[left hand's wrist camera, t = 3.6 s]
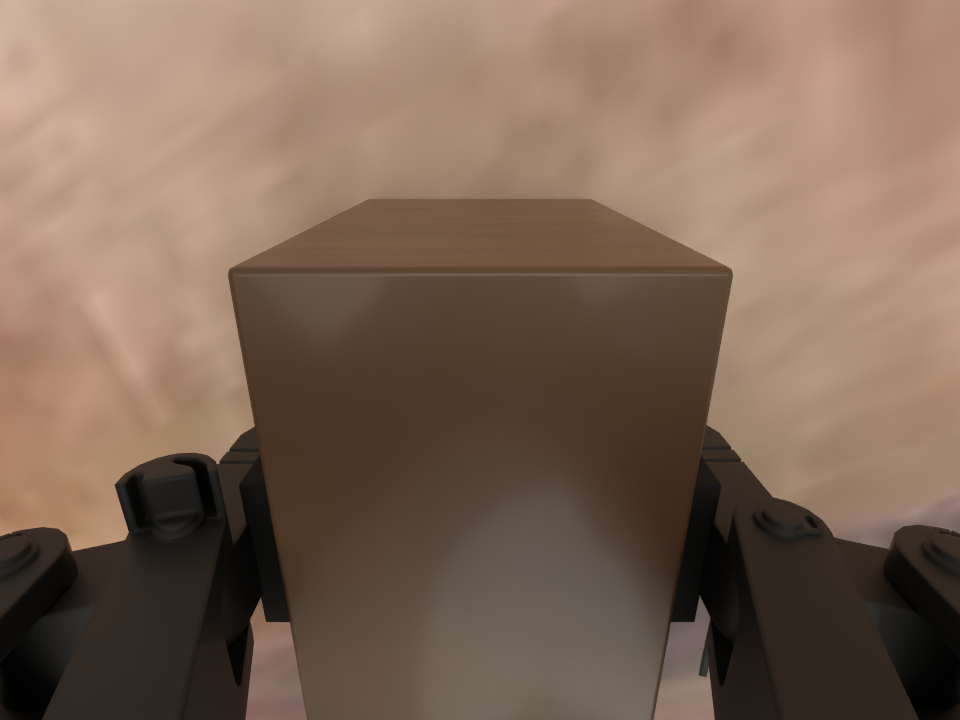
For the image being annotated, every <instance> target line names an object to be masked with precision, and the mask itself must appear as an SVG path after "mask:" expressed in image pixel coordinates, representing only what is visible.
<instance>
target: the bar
mask: <svg viewBox="0 0 960 720" xmlns="http://www.w3.org/2000/svg"><path fill="white" fill-rule="evenodd" d="M732 277H733V274H732V270H731V268H729V267H727V266H725V265H723V264H721V263H719V262H717V261H715V260H713V259H711V258H709V257H707V256H705V255H702V254H700V253H698V252H696V251H694V250H692V249H690V248H688V247H686V246H684V245H682V244H680V243H678V242H676V241H674V240H672V239H670V238H668V237H666V236H664V235H662V234H660V233H658V232H656V231H654V230H652V229H650V228H648V227H646V226H644V225H642V224H640V223H638V222H636V221H634V220H632V219H630V218H628V217H626V216H624V215H622V214H620V213H618V212H616V211H614V210H612V209H610V208H608V207H606V206H604V205H602V204H600V203H598V202H596V201H594V200H367V201H365V202H363V203H361V204H359V205H357V206H355V207H353V208H351V209H349V210H347V211H344V212H342V213H340V214H338V215H336V216H334V217H332V218H330V219H328V220H326V221H324V222H322V223H320V224H318V225H316V226H314V227H312V228H310V229H308V230H306V231H304V232H302V233H300V234H298V235H296V236H294V237H292V238H290V239H288V240H286V241H284V242H282V243H280V244H278V245H276V246H274V247H272V248H270V249H268V250H266V251H264V252H262V253H260V254H258V255H256V256H254V257H252V258H250V259H248V260H246V261H244V262H242V263H240V264H238V265H236V266H234V267H232V268H230V269H229V273H228V278H229V284H230V289H231V295H232V300H233V306H234V312H235V317H236V323H237V328H238V334H239V340H240V345H241V351H242V356H243V362H244V368H245V373H246V379H247V384H248V390H249V396H250V401H251V407H252V412H253V418H254V424H255V429H256V435H257V440H258V446H259V452H260V457H261V463H262V468H263V474H264V480H265V485H266V491H267V496H268V502H269V508H270V513H271V519H272V524H273V530H274V536H275V541H276V547H277V552H278V558H279V564H280V569H281V575H282V580H283V586H284V592H285V597H286V603H287V608H288V614H289V620H290V625H291V631H292V636H293V642H294V648H295V653H296V659H297V664H298V670H299V676H300V681H301V687H302V692H303V698H304V704H305V709H306V715H307V720H653V719H654V713H655V707H656V702H657V696H658V691H659V685H660V680H661V674H662V668H663V663H664V657H665V652H666V646H667V640H668V635H669V629H670V624H671V618H672V612H673V607H674V601H675V596H676V590H677V584H678V579H679V573H680V568H681V562H682V557H683V551H684V545H685V540H686V534H687V529H688V523H689V517H690V512H691V506H692V501H693V495H694V489H695V484H696V478H697V473H698V467H699V462H700V456H701V450H702V445H703V439H704V434H705V428H706V422H707V417H708V411H709V406H710V400H711V394H712V389H713V383H714V378H715V372H716V367H717V361H718V355H719V350H720V344H721V339H722V333H723V327H724V322H725V316H726V311H727V305H728V299H729V294H730V288H731V283H732Z"/></svg>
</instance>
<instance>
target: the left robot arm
mask: <svg viewBox="0 0 960 720" xmlns="http://www.w3.org/2000/svg"><path fill="white" fill-rule="evenodd" d="M115 488H116V491H117V494H118V497H119V501H120V504H121V507H122V511H123V514H124V517H125V521H126V524H127V527H128V530H129V533H128V535H127V538H126V540H124V541H120V542H116V543H111V544H106V545H101V546H96V547H92V548H87V549H82V550H77V551H72V549H71V546H70V544H69V541H68V538H67V535H66V534H64V533H63V532H62V531H60V530H59V529H54V528H45V527H41V528H34V529H26V530H20V531H16V532H12V533H11V534H6V535H3V536H0V720H245V717H246V708H247V699H248V690H249V681H250V672H251V664H252V655H253V646H254V639H253V633H252V627H251V623H250V619H251V616H252V614H253V612H254V610H255V608H256V606H257V604H258V602H259V600H260V598H261V599H262V604H263V609H264V614H265V619H266V622H290V620H289V614H288V608H287V603H286V597H285V592H284V586H283V580H282V575H281V569H280V564H279V558H278V552H277V547H276V541H275V536H274V530H273V524H272V519H271V513H270V508H269V502H268V496H267V491H266V485H265V480H264V474H263V468H262V463H261V457H260V452H259V446H258V440H257V435H256V429H255V427H253V428H251V429H250V430H248V431H247V432H245V433H243V434H242V435H241V436H240V437H239V438H238V439H237V441H236V442H235V443H234V444H233V445H232V447H231V448H230V451H229V452H227V453H226V454H225V455H224V456H223V458H222V459H221V460H220V464H217V465H216V461H215V460H213V459H212V458H210V457H209V456H208V455H203V454H198V453H179V454H173V455H168V456H164V457H159V458H156V459H154V460H151V461H148V462H146V463H143V464H141V465H139V466H137V467H135V468H134V469H132V470H131V471H129V472H127V473H126V474H124V475H123V476H122V477H121V478H120V480H119V481H118V482H117V483H116V484H115ZM699 596H700V597H701V599H702V601H703V603H704V605H705V607H706V609H707V611H708V613H709V615H710V617H711V618H710V623H709V627H708V632H707V637H706V641H705V646H704V651H703V655H702V660H701V665H700V671H699V676H703V677H706V675H707V671H708V666H709V671H710V680H711V689H712V698H713V707H714V715H715V720H960V533H957V532H954V531H952V532H951V531H949V530H947V529H943V528H938V527H930V526H923V525H913V526H904V527H902V528H901V529H899V530H898V531H896V532H895V534H894V536H893V539H892V542H891V545H890V548H889V549H885V548H880V547H875V546H870V545H866V544H861V543H856V542H851V541H846V540H842V539H838V538H834V537H833V534H832V532H831V531H830V529H829V528H828V527H827V526H826V524H825V523H824V522H823V520H821V519H820V518H819V517H817V516H816V515H815V514H813V513H812V512H810V511H809V510H807V509H805V508H803V507H801V506H798V505H796V504H794V503H792V502H789V501H785V500H781V499H777V498H773V497H772V496H771V495H770V494H769V492H768V491H767V490H766V489H765V488H764V486H763V485H762V484H761V483H760V482H759V480H758V479H757V478H756V477H755V475H754V474H753V473H752V472H751V471H750V469H749V468H748V467H747V466H746V465H745V463H744V462H741V459H740V457H739V456H738V455H737V454H736V453H735V451H734V450H731V446H730V445H729V444H728V443H727V442H726V440H725V439H724V438H723V437H722V436H721V434H720V433H719V432H717V431H715V430H714V429H712V428H710V427H709V426H707V425H706V428H705V434H704V439H703V445H702V450H701V456H700V462H699V467H698V473H697V478H696V484H695V489H694V495H693V501H692V506H691V512H690V517H689V523H688V529H687V534H686V540H685V545H684V551H683V557H682V562H681V568H680V573H679V579H678V584H677V590H676V596H675V601H674V607H673V612H672V618H671V622H694V621H695V616H696V611H697V606H698V601H699Z"/></svg>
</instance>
